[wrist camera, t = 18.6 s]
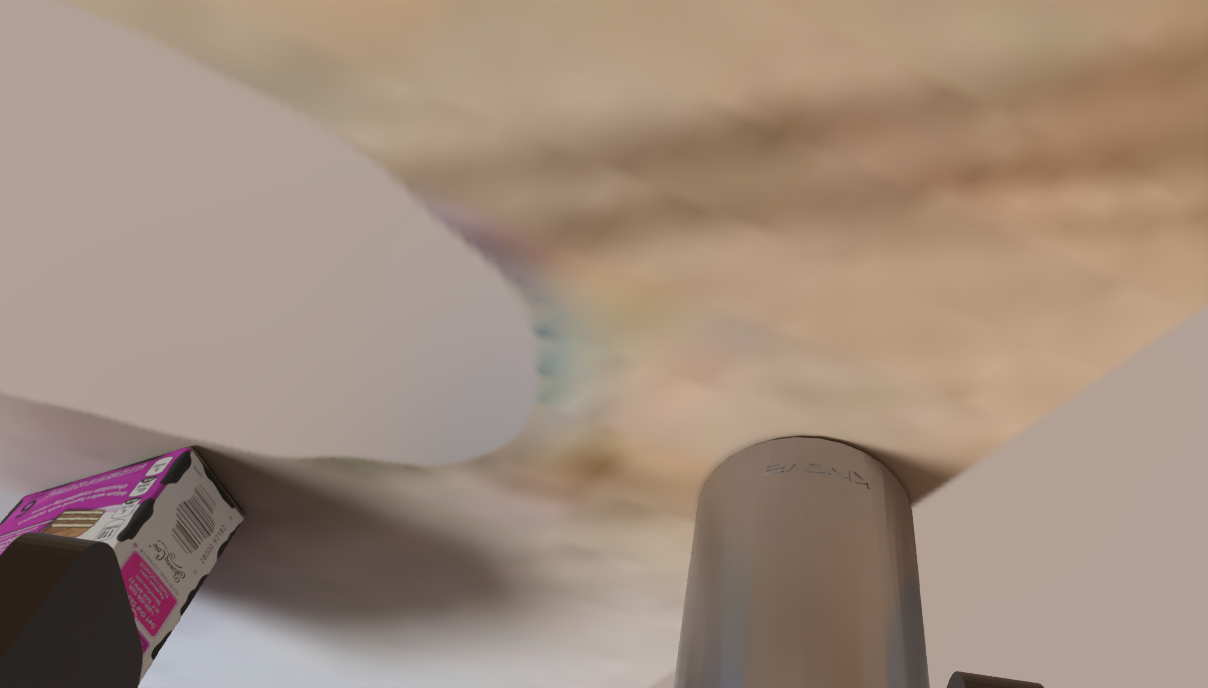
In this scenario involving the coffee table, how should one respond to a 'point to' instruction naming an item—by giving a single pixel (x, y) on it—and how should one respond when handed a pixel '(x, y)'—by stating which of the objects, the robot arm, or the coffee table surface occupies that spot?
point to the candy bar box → (142, 531)
